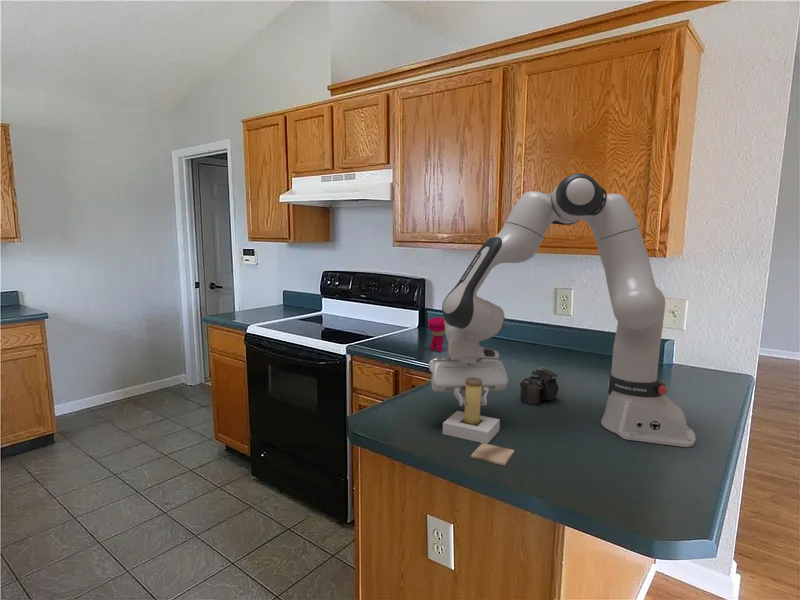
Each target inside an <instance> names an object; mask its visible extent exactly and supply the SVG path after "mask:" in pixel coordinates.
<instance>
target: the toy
mask: <svg viewBox="0 0 800 600" xmlns="http://www.w3.org/2000/svg"><path fill="white" fill-rule="evenodd" d="M427 325H428V330H429V331H431V333H432V335H434V336H432V339H431V343H430V350H431V351H433V352H434V351H436V349H437V352H439V353H441V352H442V351H443V345H444V337H443V335H444V334H445V319H444V317H439V316H438V317H432V318H430V319H428V321H427Z"/></svg>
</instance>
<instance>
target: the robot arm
mask: <svg viewBox="0 0 800 600" xmlns="http://www.w3.org/2000/svg"><path fill="white" fill-rule="evenodd" d="M581 220H582V221H584V222H585V223H587V224H588V226H589V227H590V230H591V231H592V234H593V238H594V242H595V244H596V247H597V251H598V254H599V257H600V261H601V263H602V267H603V270H604V273H605V279H606V285H607V289H608V294H609V299H610V303H611V306H612V311H613V315H614V317H615V320H616V321H617V325H616V330H615V337H614V341H613V347H612V348H613V349H612V361H611V372H610V373H609V377H608V381H607V382H608V383H607V394H608V398H607V401H606V406H605V410H604V413H603V415H602V418H601V420H600V423H601V425H602V427H604V428H605V429H607V430H608V431H610V432H612V433H614V434H617V435H618V436H619V437H620V438H622V439H624V440H627V441H635V442H643V443H652V444H658V445H666V446H667V445H668V446H674V447H682V448H690V447H693V446H694V445H695V444H696V433H695V432H694V430H693V429H692V428H691V427H690V426H688V425H687V419H686V416H685V413H684V411H683V409H682V408H681V407H679V406H678V405H677V404H676V403H674V402H673V401H672V399H670V398H669V397H667V396H666V394H667V392H668V388H667V386H666V384H665V383H664V380H660V379H658V372H659V371H658V369H659V359H660V351H661V349H660V348H661V341H662V335H663V327H664V317H665V311H666V310H665V309H666V298H665V295H664V293H663V291H662V290H661V289H660V288H659V287H657V285H656V282H655V278H654V274H653V270H652V269H653V268H652V266H651V265H652V264H651V262H650V257H649V254H648V250H647V247H646V244H645V241H644V238H643V235H642V232H641V228H640V226H639V223H638V220H637V218H636V215H635V213H634V211H633V209H632V207H631V206H630V204H629V202H628V200H627V198H626V197H625V196H624V195H621V194H619V193H607V191H606V190H605V188H604V187H602V186H601V185H600V184H599V183H598V182H597V181H596V179H595V178H593V177H592V176H590V175H589V174H586V173H579V172H578V173H573V174H571V175H570V174H569V175H568V176H566V177H564V178H563V179H562V180H561V181H560V183H559V184H558V185H557V186H555V188H554V189H553V191H552V192H550V193H543V192H540V191H535V190H530V191H527V192H525V193H523V194H522V195H521V196H520V197H519V199H518V200H517V201H516V203H515V204H514V206H513V208H512V209H511V211H510V213H509V214H508V216H507V218H506V221H505V222H504V225H502V226H503V227H502V228H501V229H500V231H499V232H498V233H497V234H496V235H495V236H494V237H490V238H488V239H487V240H486V241H484V243H483V244H482V245H481V247H480V248H479V250H478V251H477V253H476V254H475V255H474V257H473V259H472V260H471V262H470V264H469V265H468V267H467V268H466V270H465V271H464V272H463V274H462V276H461V277H460V278H459V280H458V282H457V284H455V286H454V287H453V288H452V289H451V290H450V292H449V293H447V295H446V296H445V298H444V299H443V302H442V307H441V312H442V316H443V319H445V333H444V334H445V339H446V341H447V343H448V346H447V351H448V357H443V358H442V357H441V358H439V357H437V358H433V359H431V360H430V361H429V362H428V370H429V371H430V373H431V378H430V379H431V388H432V390H433V391H434V392H453V396H454V397H455V398H456V400H458V402H459V403H458V405H459V406H460V407H463V406H464V407H465V406H466V397H465V396H463V394H461V393H460V392H466V379H467V378H479V379H481V380H482V388H481V395H483V396H481V406H487V405H488V401H487V400H488V399H487V395H488V394H489V391H504V390H505V389H506V388H507V387H508V384H509V378H508V374H507V371H506V369H505V365H504V364H503V362H502V361H501V360H500V359H499V357H500V353H499V352H498V351H497V350H494V349H490V348H486V347H483V346H482V345H481V346H480V342H486V341H487V340H489V339H492V338H493V337H495V336H497V335H498V334H499V333H500V332H501V331H502V330H503V328H504V325H505V313H504V310H503V308H502V307H501V306H499V305H497V304H495V303H493V302H490V301H489V300H487V299H485V298H482V297H479V296H478V291H479V290H480V288H481V286H482V285H483V284H484V282H485V280H486V279H487V277H488V276H489V274H490V272H491V271H492V269H493V268H494V267H496V266H497V265H499V264H506V263H507V264H510V263H511V264H517V263H523V262H527V261H529V260H530V259H532V258H533V257H534V256H535V255H536V254H537V252H538V250H539V249H540V247H541V244H542V242H543V240H544V238H545V236H546V233H547V231H548V229H549V227H550V226H551V225H553V224H554V225H561V226H570V225H574V224H577V223H578V222H580V221H581Z"/></svg>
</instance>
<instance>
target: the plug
mask: <svg viewBox="0 0 800 600" xmlns="http://www.w3.org/2000/svg"><path fill="white" fill-rule="evenodd" d="M481 388H482V380H481V379H479V378H467V379H466V391H465V392H464V393H465V395H464V397H466V406H464V412H465V413H464V423H465V424H469V425H474V426H478V425H479V424H480V415H481V406H482V405H481V397H482V391H481Z"/></svg>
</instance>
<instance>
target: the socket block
mask: <svg viewBox="0 0 800 600" xmlns="http://www.w3.org/2000/svg"><path fill="white" fill-rule="evenodd" d="M464 413H465V411H460V410H457V411H456V412H454V413H453V414H452V415H450V416H449V417H448V418H447V419H446V420H445V421H443V422H442V435H446V436H450V437H453V438H459V439H464V440H467V441H471V442H477V443H481V444H482V443H485V444H489V443H490V442H491V441H492V440H493V438H495V436H496V435H497V434H498V433H499V431H500V430H501V429H500V427H501V425H500V424H501V419H499V418H497V417H496V418H495V417H489V416H485V415H481V414H480V424H479V425H478V426H474V425H469V424H465V423H464Z"/></svg>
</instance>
